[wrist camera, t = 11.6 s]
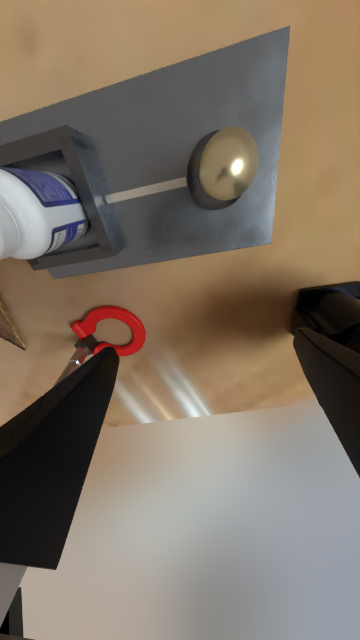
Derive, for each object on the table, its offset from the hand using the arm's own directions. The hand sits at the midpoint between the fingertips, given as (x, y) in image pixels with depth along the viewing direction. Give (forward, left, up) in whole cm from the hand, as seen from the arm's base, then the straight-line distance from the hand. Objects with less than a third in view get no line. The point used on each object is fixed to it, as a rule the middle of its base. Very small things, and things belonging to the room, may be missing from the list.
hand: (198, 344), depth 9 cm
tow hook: (+13, +8, -13) cm, 20 cm away
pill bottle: (+11, -7, -12) cm, 18 cm away
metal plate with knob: (+4, -7, -13) cm, 15 cm away
